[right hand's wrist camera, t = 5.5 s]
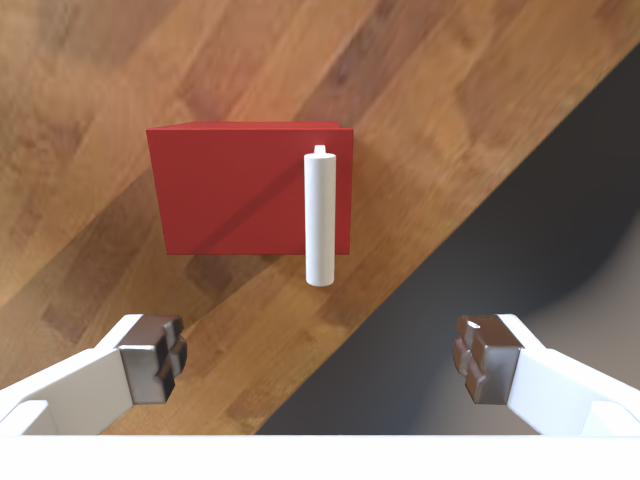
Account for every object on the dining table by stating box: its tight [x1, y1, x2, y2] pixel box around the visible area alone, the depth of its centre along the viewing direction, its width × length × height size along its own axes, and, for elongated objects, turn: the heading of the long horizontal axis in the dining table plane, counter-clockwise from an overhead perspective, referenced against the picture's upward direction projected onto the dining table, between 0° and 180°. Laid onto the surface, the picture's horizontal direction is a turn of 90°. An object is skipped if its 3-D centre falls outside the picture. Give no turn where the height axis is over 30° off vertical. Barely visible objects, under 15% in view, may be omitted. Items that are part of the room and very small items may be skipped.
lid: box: [146, 128, 353, 287], centre depth 23 cm, size 14×10×8 cm, turn 90°
